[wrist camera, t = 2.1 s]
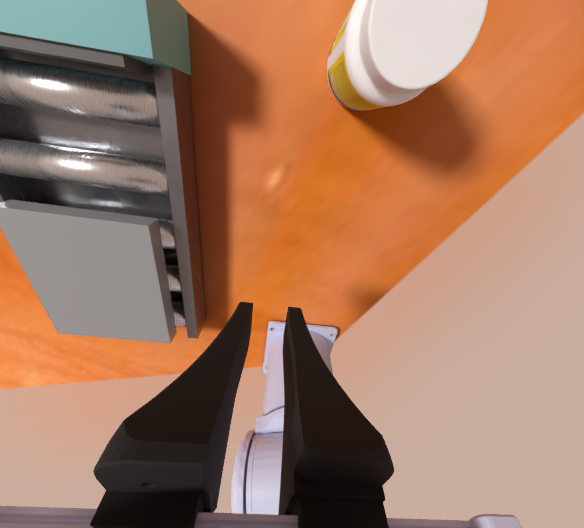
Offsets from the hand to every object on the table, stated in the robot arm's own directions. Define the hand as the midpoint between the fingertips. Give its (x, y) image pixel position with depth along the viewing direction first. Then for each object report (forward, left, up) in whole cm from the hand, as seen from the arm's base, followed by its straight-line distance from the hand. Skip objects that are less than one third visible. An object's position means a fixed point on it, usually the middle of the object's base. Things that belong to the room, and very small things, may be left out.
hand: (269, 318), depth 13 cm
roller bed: (0, +14, -10) cm, 17 cm away
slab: (-4, +14, -7) cm, 16 cm away
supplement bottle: (+13, -4, -11) cm, 17 cm away
